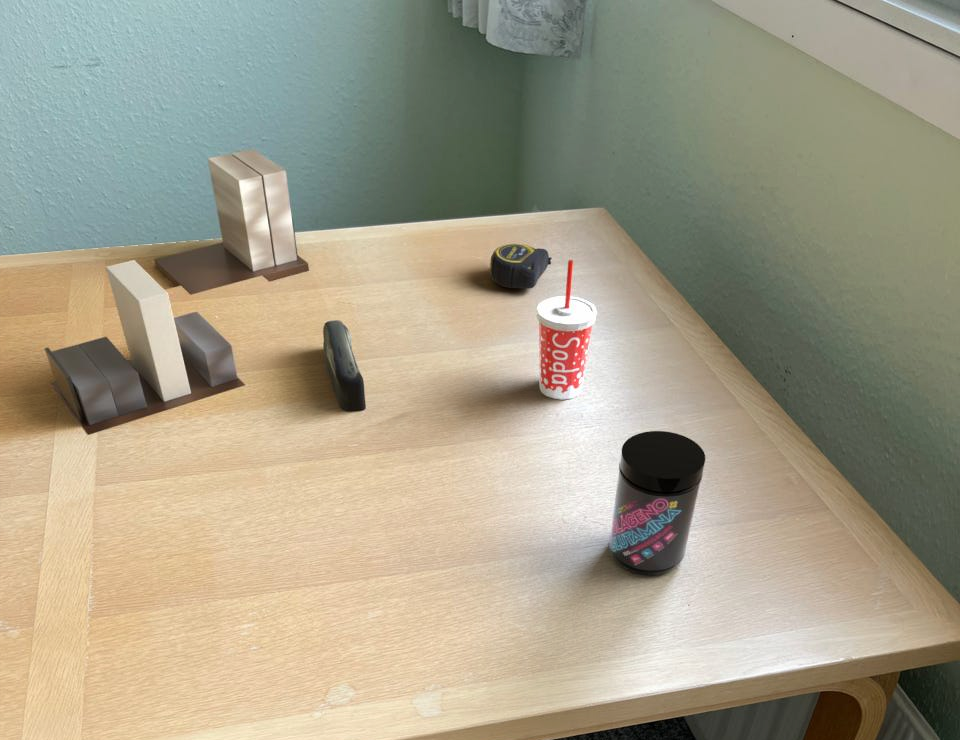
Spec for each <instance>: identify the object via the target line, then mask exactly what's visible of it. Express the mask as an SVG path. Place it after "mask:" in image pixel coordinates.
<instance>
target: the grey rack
mask: <svg viewBox="0 0 960 740" xmlns="http://www.w3.org/2000/svg"><path fill="white" fill-rule="evenodd" d="M173 318H174V322H175V326H176V331H177V335H178V339H179V344H180V348H181V352H182V357H183V361H184V365H185V370H186V374H187V378H188V382H189V387H190V391H191V394H188V395H185V396H182V397H178V398H175V399H172V400H169V401H166V402H164V401H163V400H162V399H161V398H160V397H159V395H158V394H157V393H156V392H155V391H154V390H153V388H152V387H151V386H150V385H149V384H148V383H147V381H146V380H145V379H144V378H143V377H142V376H141V374H140V373H139V372H138V371H137V370H136V369H135V367H134V366H133V365H132V361H131V358H129V359H127V358H125V356H124V355H123V354H122V353H121V351H119V349H118V348H117V347H116V346H115V344H114V343H113V342H112V341H111V340H110V339H109V338H108V336H103V337H100V338H95V339H91V340H88V341H84V342H81V343H78V344H74V345H70V346H67V347H63V348H59V349H56V350H51V349H50V348H49V347H45V348H44V351H45V354H46V358H47V360H48V364H49V366H50V369H51V372H52V375H53V377H54V381H51V382H50V385H51V386H52V387H53V389H54V390H55V392H56V393H57V395H58V396H59V397H60V399H61V401H63V403H64V404H65V406H66V407H67V408H68V409H69V411H70V412H71V414H72V415H73V416H74V418H75V419H76V420H77V422H78V423H79V425H80V426H81V427H82V429H83V430H84V432H85V433H86V435H87V436H89V435H93V434H96V433H100V432H102V431H105V430H108V429H111V428H112V429H113V428H115V427H119V426H121V425H124V424H128V423H131V422H134V421H137V420H140V419H143V418H147V417H149V416H153V415H156V414H159V413H162V412H165V411H169V410H172V409H175V408H178V407H181V406H184V405H187V404H191V403H195V402H197V401H200V400H204V399H207V398H209V397H212V396H216V395H219V394H222V393H226V392H229V391H231V390H235V389H239V388H241V387H245V386H246V384H245V383H244V381H242V380H241V378H240V377H239V376H238V373H237V368H236V361H235V357H234V352H233V347H232V343H230V342H229V341H228V340H227V339H226V338H225V337H224V336H223V335H222V334H221V333H220V332H219V331H218V330H217V329H215V328H214V326H213V325H211V323H209V322H208V321H207V320H206V319H205V318H204V317H203V316H202V315H201V314H200V313H199V312H198V311H193V312H190V313H185V314H183V315H179V316H175V317H173Z"/></svg>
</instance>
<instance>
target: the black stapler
mask: <svg viewBox="0 0 960 740" xmlns="http://www.w3.org/2000/svg"><path fill="white" fill-rule="evenodd" d="M322 336H323V354H324V362H325V368H326V371H327V375H328V377H329V380H330V383H331V388H332V389H333V392H334V395H335V398H336V400H337V403H338V406H339V407H340V409H341V410H342V411H344V412H347V413H354V412H356V413H357V412H363V411H365V410H366V408H367V404H366V393H365V381H364V377H363V375H362V374H361V372H360V369H359V367H358V364H357V361H356V357H355V355H354V351H353V349H352V347H353V346H352V339H351V334H350V331H349V328H348V327H347V326H346V325H345V324H344V322H342V321H341V320H338V319H337V320H336V319H335V320H328V321H326V322H325V323H324V324H323V327H322Z"/></svg>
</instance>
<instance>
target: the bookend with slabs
mask: <svg viewBox="0 0 960 740" xmlns="http://www.w3.org/2000/svg"><path fill="white" fill-rule="evenodd" d="M207 163H208V168H209V173H210V178H211V185H212V190H213V195H214V196H213V197H214V202H215V207H216V212H217V213H216V214H217V217H218V224H219V228H220V234H221V240H222V242H217V243H213V244H210V245H209V244H208V245H205V246H201V247H199V248H198V247H197V248H193V249H189V250H186V251H181V252H178V253H173V254H169V255H165V256H161V257H157V258H153V262H154V267H155V268H156V269H157V270H158V271H159V272H161V273H162V274H163V276H165V277H166V278H167V279H168V280H169V281H170V282H171V283H172V284H173V285H174V286H175V287H182V288H183V289H184V290H185V291H186V292H187V293H188V294H190V295H191V296H192V295H195V294H198V293H203V292H206V291H211V290H213V289H218V288H221V287H225V286H229V285H232V284H236V283H240V282H243V281H247V280H251V279H255V278H259V277H263V278H264V279H265V280H266V281H268V282H271V281H275V280H278V279H279V280H280V279H282V278H286V277H290V276H293V275H296V274H297V275H298V274H301V273H305V272H308V271H310V266H309V262H308V261H306V260H305V259H304V258H302V257H301V256H300V255H299V254H298V247H297V240H296V232H295V223H294V218H293V216H292V210H291V209H292V208H291V203H290V194H289V193H290V192H289V186H288V178H287V170H285V169H284V168H283V167H281V166H280V165H278V164H277V163H275V162H274V161H272V160H271V159H269V158H268V157H266V156H265V155H263V154H262V153H260V152H258V150H256V149H254V148H251V149H246V150H242V151H236V152H232V153H227V154H222V155H218V156H213V157H208V158H207Z"/></svg>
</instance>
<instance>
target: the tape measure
mask: <svg viewBox="0 0 960 740" xmlns="http://www.w3.org/2000/svg"><path fill="white" fill-rule="evenodd" d="M552 258H553V257H550V255H549V252H548V250H546V249H545V248H538V247H537V248H535V247H532V246H530V245H528V244H523V243H508V244H504V245H501V246H499V247H497V248H496V249H495V250H494V251H493V252H492V254H491V257H490V264H489V266H490V267H489V272H490V273H489V274H490V277H491V279H492V280H493V281H494V282H495V283H496V284H498V285H500V286H502V287H505V288H509V289H533V288H535V287H536V285H537V283H538V280H539V279H540V278H541V276H543V274H544V273H545V272H546V270H547V268H548V266H550V265H551V264H552Z"/></svg>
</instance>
